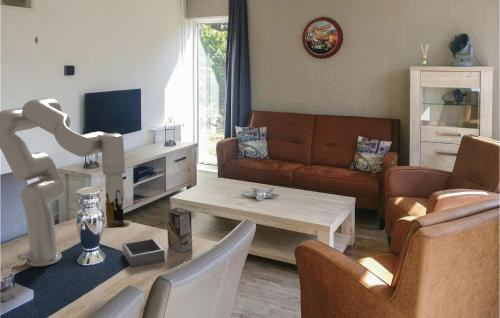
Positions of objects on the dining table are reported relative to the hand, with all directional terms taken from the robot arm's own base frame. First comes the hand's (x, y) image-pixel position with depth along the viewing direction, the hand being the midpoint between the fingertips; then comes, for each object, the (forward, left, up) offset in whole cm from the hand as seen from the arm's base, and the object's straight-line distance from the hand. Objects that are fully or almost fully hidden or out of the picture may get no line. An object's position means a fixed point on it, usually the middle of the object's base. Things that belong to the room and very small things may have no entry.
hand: (116, 216), depth 167 cm
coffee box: (+27, +10, -22) cm, 36 cm away
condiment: (0, -1, -3) cm, 3 cm away
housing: (+11, +8, -21) cm, 25 cm away
